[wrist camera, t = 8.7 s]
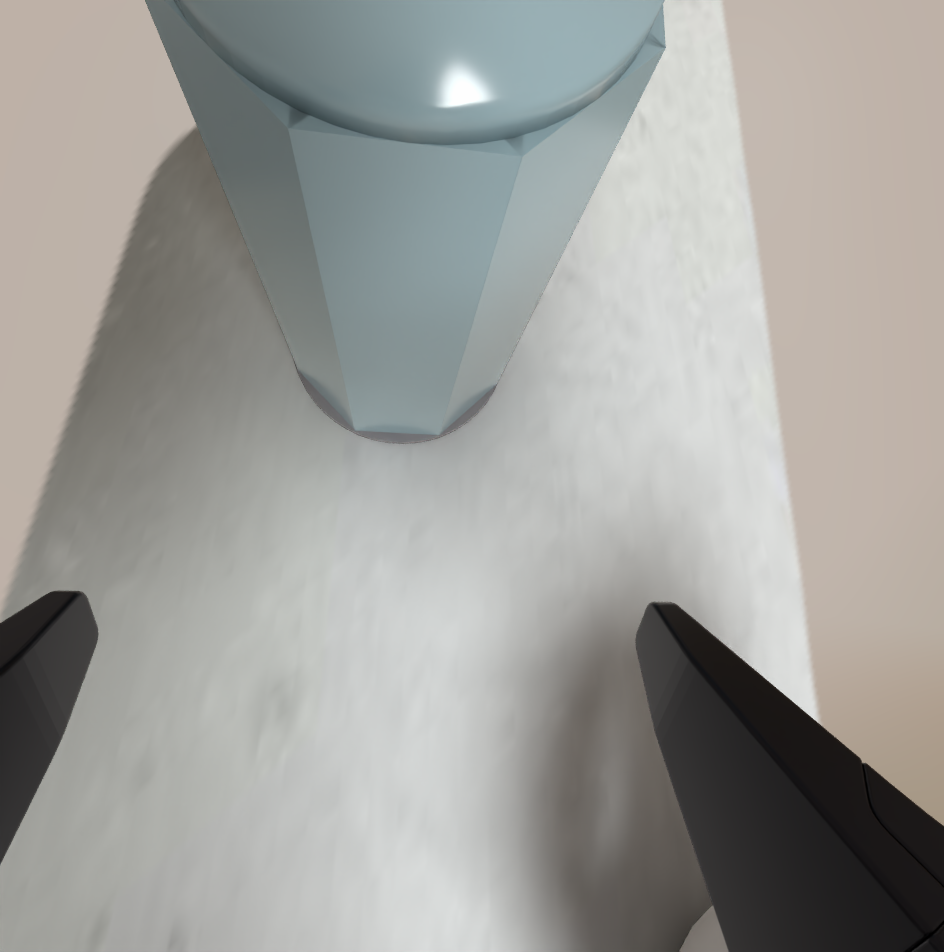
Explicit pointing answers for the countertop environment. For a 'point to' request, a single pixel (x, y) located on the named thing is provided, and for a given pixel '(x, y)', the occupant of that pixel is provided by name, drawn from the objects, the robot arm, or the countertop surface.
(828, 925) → the robot arm
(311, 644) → the countertop surface
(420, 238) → the dome-topped hexagonal post
